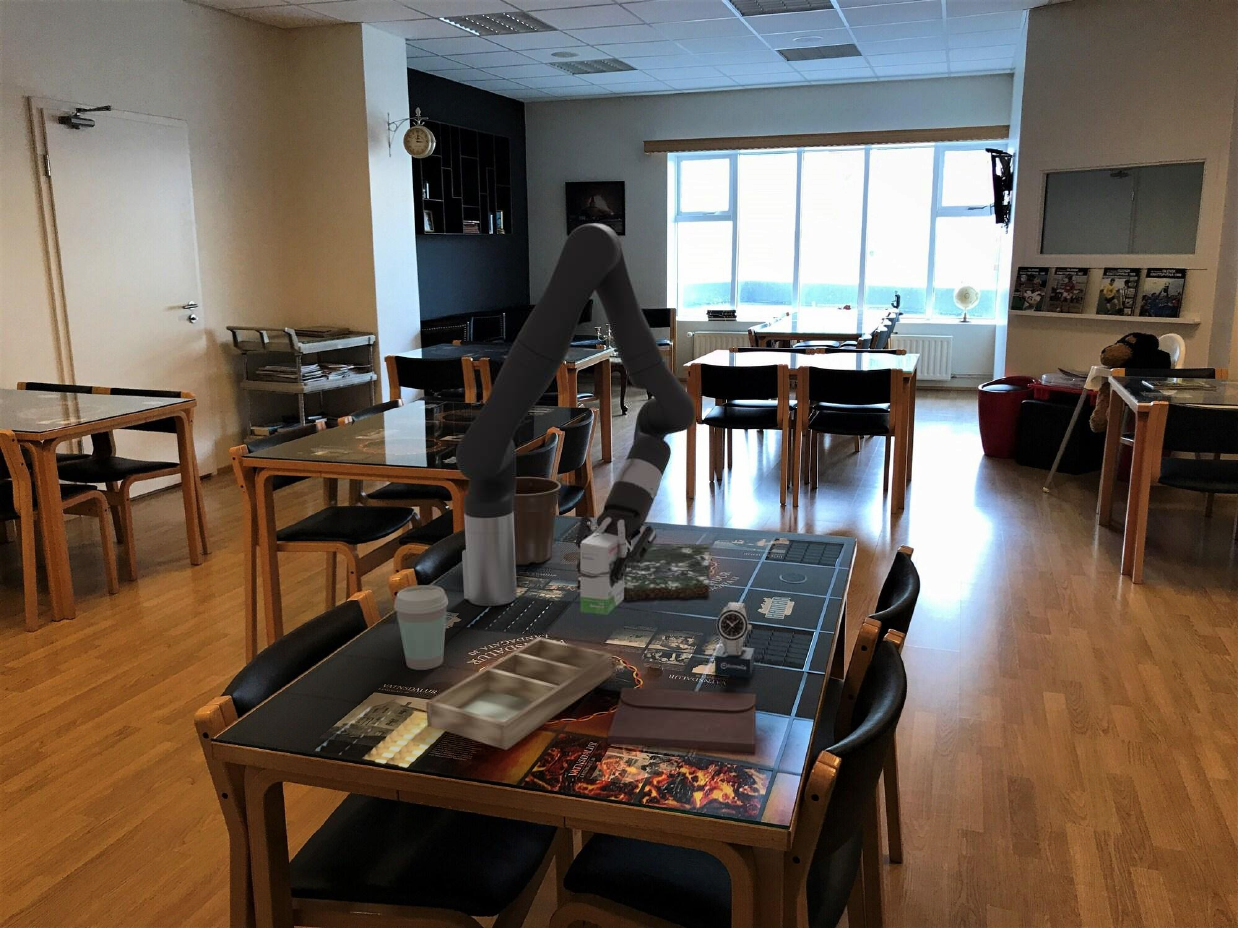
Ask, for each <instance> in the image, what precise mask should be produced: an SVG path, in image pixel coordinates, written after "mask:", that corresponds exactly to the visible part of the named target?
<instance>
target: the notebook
mask: <svg viewBox="0 0 1238 928" xmlns="http://www.w3.org/2000/svg"><path fill="white" fill-rule="evenodd" d="M756 703H757V694H756V693H755V694H754V693H740V692H719V691H718V692H717V691H700V690H698V691H697V690H692V691H691V690H680V689H678V690H674V689H658V688H655V689H654V688H639V687H638V688H634V687H622V689H621V692H620V695H619V700H618V702H617V706H616V710H615V712H614V716H613V719H612V722H611V725H610V728H609V730H608V731H609V732H608V735H607V745H623V746H636V747H637V746H638V747H639V746H640V747H655V748H670V749H671V748H672V749H689V750H706V751H721V752H724V751H725V752H738V753H739V752H740V753H754V754H755V753H756V711H757V710H756V708H757V707H756V706H757V704H756Z"/></svg>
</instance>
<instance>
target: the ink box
mask: <svg viewBox="0 0 1238 928" xmlns="http://www.w3.org/2000/svg"><path fill="white" fill-rule="evenodd" d="M593 533H594V532H593ZM593 533H591V536H589V537H588V538H586V539H585V540H583V541H582V542H581V544H580V549H579V551H580V553H579V554H580V555H579V556H580V557H579V559H580V569H581V570H580V571H581V575H579V577H580V590H579V591H580V612H582V613H588V614H596V615H597V614H598V615H605V616H607V615H609V614H610V613H611V611H613V609H615V608H616V607H617V606H618V605H619V604H620V603H621V602H622V601H624V599H625V597H624V576H623V579H622V580H621V581H620V580H619V582H618V583H613V582H612V581H611V579H610V574H611V572H612V569H613V567H614V564H615V562H616V560H617V558H620V547H619V543H618V540H619V538H618V536H616V535H612V534H608V533H601V534H600V533H594V534H593Z"/></svg>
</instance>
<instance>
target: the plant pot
mask: <svg viewBox="0 0 1238 928" xmlns="http://www.w3.org/2000/svg"><path fill="white" fill-rule="evenodd" d="M561 488H562V485H561V483H560V482H558V481H557V480H553V479H550V478H544V477H534V476H533V477H532V476H519V477H517V476H516V493H515V497H514V503H513V509H514V535H515V561H516V566H519V565H520V566H523V565H524V566H525V565H529V564H531V563H535V564H541V563H543V562H546V561H548V560H550V559H551V558H552V557H553V549H554V546H553V545H554V536H555V534H554V533H555V522H556V508H557V505H558V501H559V491H560V490H561Z"/></svg>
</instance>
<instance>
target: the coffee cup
mask: <svg viewBox="0 0 1238 928" xmlns="http://www.w3.org/2000/svg"><path fill="white" fill-rule="evenodd" d="M393 604H394V605H393V608H394V609H395V611H396V615H397V619H398V625H399V632H400V636H401V641H402V642H401V643H402V647H403V652H404V657H405V662H406V666H407V667H408V668H409V669H412V670H416V671H426V670H431V669H435V668H438V667H439V666H441V665H442V664H443V662H444V653H445V652H444V650H445V636H446V635H445V633H446V620H447V619H446V618H447V606H448V604H449V600H448V597H447V595H446V593H445V590H444V589H443V588H442V587H440V586H437V585H429V584H427V585H426V584H425V585H424V584H423V585H422V584H420V585H414V586H413V585H412V586H409V587H405V588H403V589H401V590H399V591H398V592H397V594H396V597H395V600H394V603H393Z"/></svg>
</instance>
